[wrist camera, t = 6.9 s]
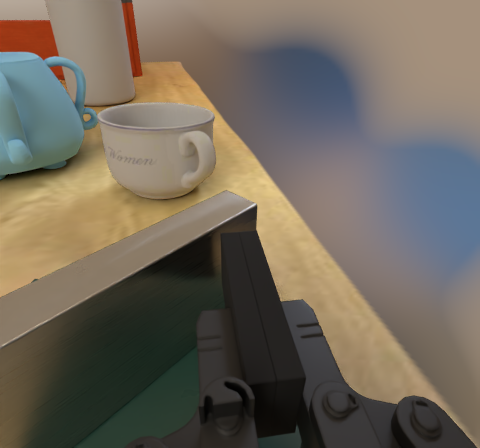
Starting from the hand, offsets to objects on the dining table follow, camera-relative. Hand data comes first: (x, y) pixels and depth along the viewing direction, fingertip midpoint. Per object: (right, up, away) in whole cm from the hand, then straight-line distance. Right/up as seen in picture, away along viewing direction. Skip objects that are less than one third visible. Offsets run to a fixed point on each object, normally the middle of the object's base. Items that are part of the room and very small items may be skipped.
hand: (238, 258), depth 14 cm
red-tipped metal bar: (-5, -5, 0) cm, 7 cm away
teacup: (-7, +5, +21) cm, 23 cm away
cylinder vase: (-28, +27, +54) cm, 67 cm away
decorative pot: (-27, +9, +27) cm, 39 cm away
